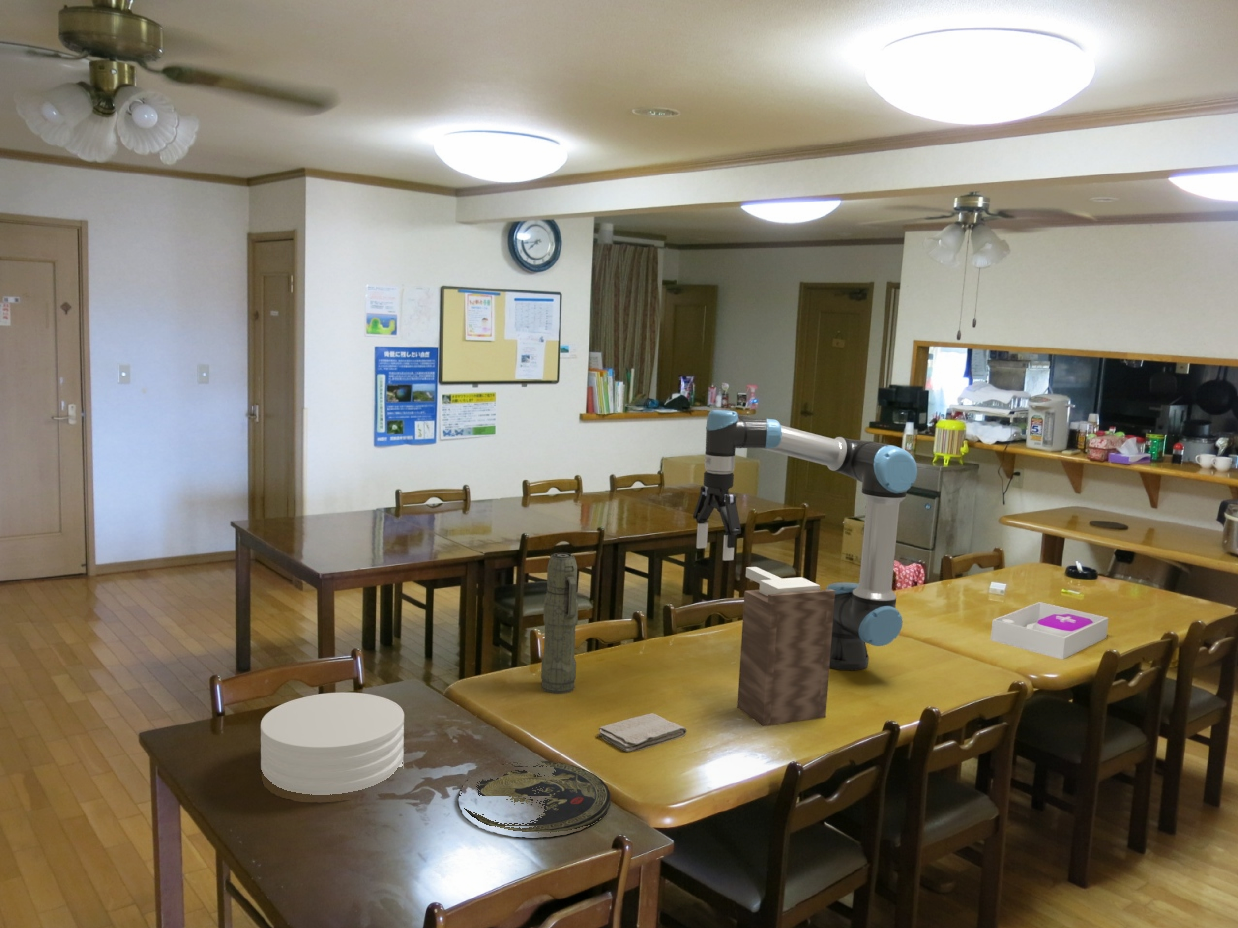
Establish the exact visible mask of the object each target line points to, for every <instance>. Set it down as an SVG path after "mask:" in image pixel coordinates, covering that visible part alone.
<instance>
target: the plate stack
mask: <svg viewBox="0 0 1238 928" xmlns="http://www.w3.org/2000/svg"><path fill="white" fill-rule="evenodd" d="M404 735H405V712H404V710H403V708H402V707H401V706H400V705H399V704H398V703H396V702H395V701H393V700H391V699H388V698H387V697H383V696H379V695H375V694H370V693H361V692H327V693H320V694H318V693H317V694H313V695H307V696H303V697H299V698H295V699H292V700H289V701H287V702H284V703H282V704H279V705H278V706H276V707H274V708H272V709H271V710H269V711H268V712H267V713H266V714H265V715H264V716H263V717H262V720H261V721H260V745H261V746H260V769H261V770H262V772H263V774H264V776H265V777H266V778H267V779H268V780H269V781H270V782H272V784H274V785H276V786H277V787H279V788H282V789H284V790H287V791H291V792H296V793H302V794H310V795H311V794H312V795H330V794H331V795H332V794H342V793H348V792H353V791H358V790H362V789H365V788H368V787H371V786H374V785H376V784H378V783H380V782H382V781H384V780H386V779H387V778H389V777H390V776H391V775H392V774H394V772H395V771H396V770H397V768H398V767H402V766H403V767H404V755H405V753H404V751H405V750H404V746H405V744H404V743H405V737H404ZM402 762H403V764H402Z"/></svg>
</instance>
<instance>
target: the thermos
mask: <svg viewBox="0 0 1238 928" xmlns="http://www.w3.org/2000/svg"><path fill="white" fill-rule="evenodd" d="M546 571H547V573H546V594H545V597H544V600H543V620H542V621H543V624H544V639H543V640H544V641H543V642H544V644H543V647H544V648H543V657H542V660H541V669H540V670H541V671H540V672H541V673H540V679H541V683H540V684H541V685H540V686H541V688H540V689H541V690H542V691H544V692H547V693H550V694H561V695H562V694H567V693H571V692H572V691H574V690H575V689H574V688H576V687H575V683H576V680H577V679H576V677H577V675H576V673H577V661H576V658H575V651H576V650H575V649H576V648H575V646H576V626H577V624H578V622H579V621H578V619H579V600H578V595H577V591H578V590H577V588H578V583H577V582H578V565H577V560H576V557H575V556H574V555H573V554H572V553H568V552H558V553H557V552H556V553H553V554H551V555H550V558H549V560H548V564H547V570H546Z"/></svg>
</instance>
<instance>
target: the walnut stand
mask: <svg viewBox="0 0 1238 928" xmlns="http://www.w3.org/2000/svg"><path fill="white" fill-rule="evenodd" d="M759 590H760V589H751V590H749V589H748V590H744V593H743V611H742V624H741V625H742V627H741V628H742V629H741V643H740V655H739V657H740V658H739V673H738V689H737V702H736V703H737V704H736V708H737V709H738V710H740V711H741V712H742V713H744V714H745V715H747V716H748V717H750V718H751V719H752V720H754V722H756V723H757V724H759V725H760V726H762V727H766V726H773V725H781V724H787V723H794V722H795V723H796V722H802V721H807V720H815V719H817V720H818V719H822V718H826V713H827V702H828V701H827V700H828V689H829V677H830V675H829V674H830V668H829V664H830V651H831V638H832V625H833V612H834V599H835V591H834V590H832V589H828V590H826V589H820V590H815V591H803V592H791V593H778V594H768V596H766V595H764V594H762V593H760V592H759Z"/></svg>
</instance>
